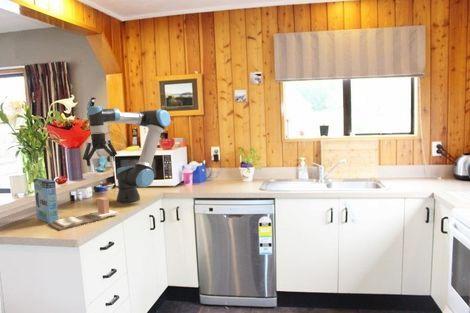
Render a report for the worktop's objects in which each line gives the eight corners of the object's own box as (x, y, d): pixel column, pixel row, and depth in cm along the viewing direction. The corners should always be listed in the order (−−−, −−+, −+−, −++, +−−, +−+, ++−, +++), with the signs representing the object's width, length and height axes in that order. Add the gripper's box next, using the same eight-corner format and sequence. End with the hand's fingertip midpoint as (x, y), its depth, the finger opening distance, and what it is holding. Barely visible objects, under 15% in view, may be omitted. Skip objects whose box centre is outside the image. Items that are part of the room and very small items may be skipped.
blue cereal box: (37, 218, 211) (32, 179, 208) (46, 216, 214) (42, 177, 212) (50, 224, 197) (45, 182, 195) (59, 221, 201) (55, 180, 199)
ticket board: (93, 214, 213) (93, 211, 213) (106, 219, 202) (106, 215, 202) (48, 225, 195) (47, 221, 195) (60, 230, 184) (59, 226, 184)
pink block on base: (106, 210, 218) (104, 195, 217) (117, 213, 208) (116, 198, 207) (89, 214, 210) (88, 198, 209) (101, 217, 201) (99, 201, 200)
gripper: (113, 130, 222) (117, 165, 225) (73, 135, 203) (78, 172, 206) (120, 130, 217) (124, 166, 220) (79, 135, 198) (84, 173, 201)
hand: (102, 169), depth 213 cm, fingers open, 13 cm apart
